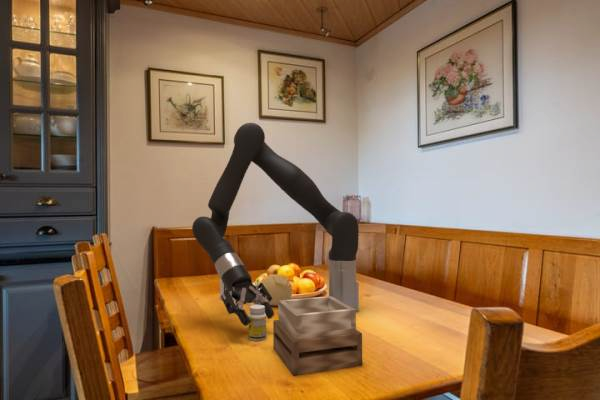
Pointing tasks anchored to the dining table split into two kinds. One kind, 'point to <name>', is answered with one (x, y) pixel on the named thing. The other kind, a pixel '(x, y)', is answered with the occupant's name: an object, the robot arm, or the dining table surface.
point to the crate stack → (316, 335)
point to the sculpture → (277, 288)
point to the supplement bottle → (257, 323)
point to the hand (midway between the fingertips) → (260, 320)
